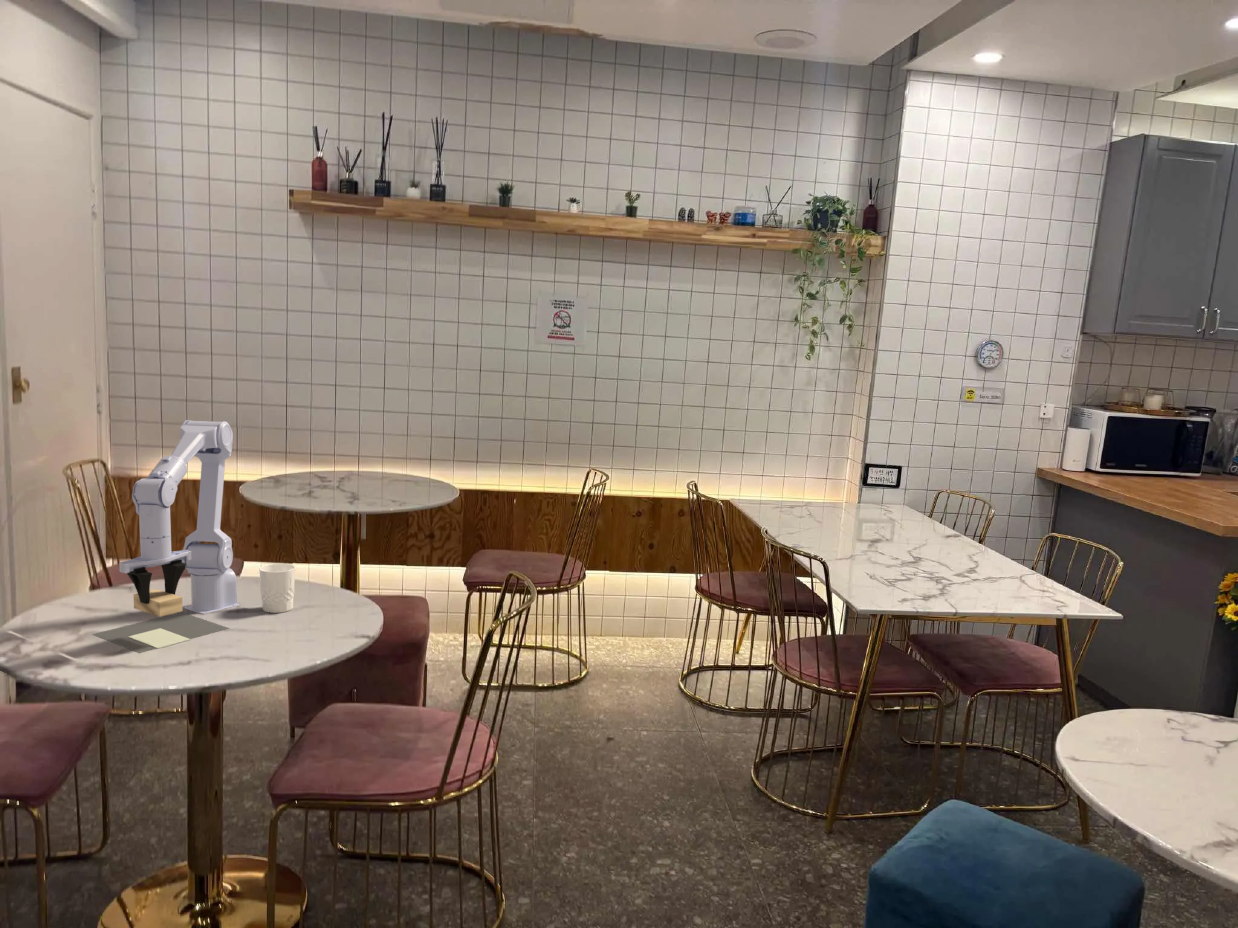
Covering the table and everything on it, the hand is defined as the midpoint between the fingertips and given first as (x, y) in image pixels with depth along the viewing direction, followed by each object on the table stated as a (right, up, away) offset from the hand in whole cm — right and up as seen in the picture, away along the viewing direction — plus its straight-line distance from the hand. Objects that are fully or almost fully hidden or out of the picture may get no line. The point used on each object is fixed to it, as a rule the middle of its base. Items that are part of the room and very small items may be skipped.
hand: (157, 599), depth 189 cm
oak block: (0, -2, 0) cm, 2 cm away
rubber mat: (-2, -8, +6) cm, 10 cm away
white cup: (+16, -6, +25) cm, 30 cm away
